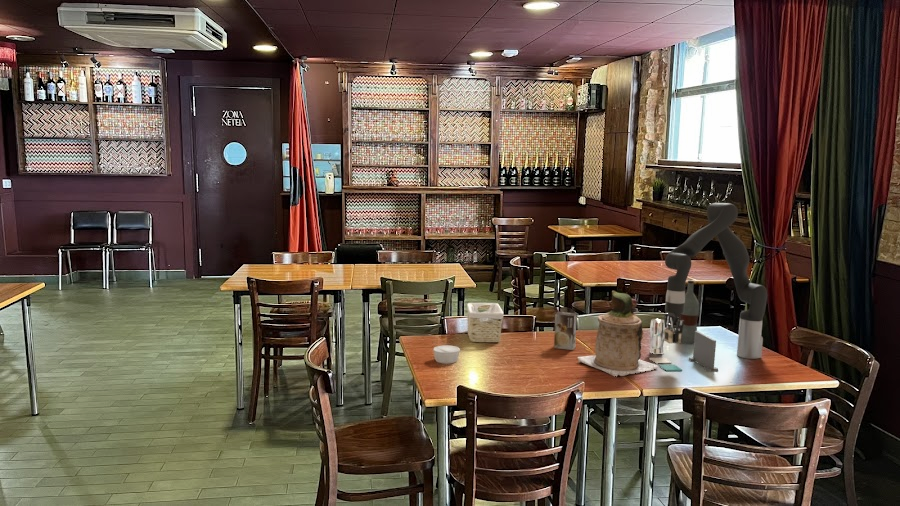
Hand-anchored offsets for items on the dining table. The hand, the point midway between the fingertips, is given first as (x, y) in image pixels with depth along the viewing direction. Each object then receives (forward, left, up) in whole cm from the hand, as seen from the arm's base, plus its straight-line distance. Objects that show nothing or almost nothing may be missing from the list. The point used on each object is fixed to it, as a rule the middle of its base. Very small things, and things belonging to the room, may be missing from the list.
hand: (672, 340), depth 280 cm
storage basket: (+70, -53, -12) cm, 89 cm away
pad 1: (0, -10, -12) cm, 16 cm away
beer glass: (-4, -23, -12) cm, 26 cm away
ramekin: (+93, -15, -12) cm, 95 cm away
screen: (-17, -4, -12) cm, 21 cm away
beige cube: (0, 0, 0) cm, 0 cm away
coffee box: (+36, -33, -12) cm, 50 cm away
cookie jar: (+21, -5, -12) cm, 25 cm away
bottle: (-27, -41, -12) cm, 51 cm away
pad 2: (0, 0, -12) cm, 12 cm away
